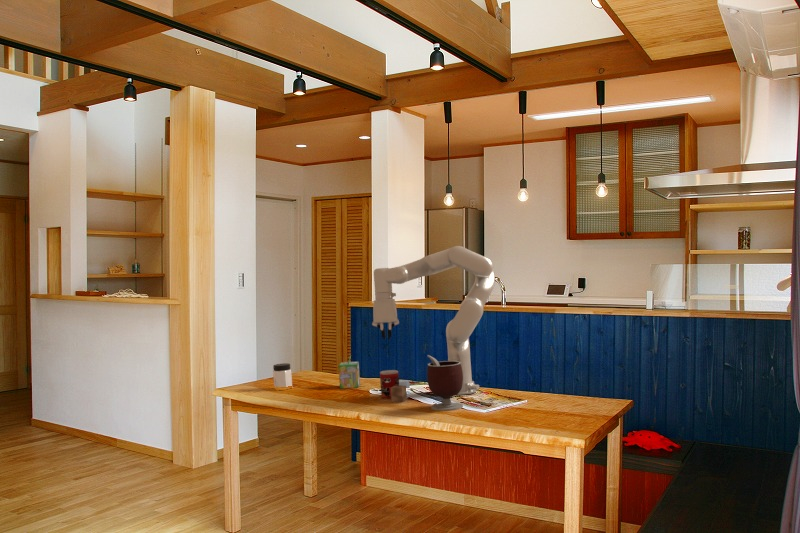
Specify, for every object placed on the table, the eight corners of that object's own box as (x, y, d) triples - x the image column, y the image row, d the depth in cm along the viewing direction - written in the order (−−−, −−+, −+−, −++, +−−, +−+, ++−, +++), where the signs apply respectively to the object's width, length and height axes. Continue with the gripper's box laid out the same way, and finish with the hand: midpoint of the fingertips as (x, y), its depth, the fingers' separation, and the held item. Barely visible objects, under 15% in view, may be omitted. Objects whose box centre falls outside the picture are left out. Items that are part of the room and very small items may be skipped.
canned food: (378, 396, 291) (377, 371, 291) (395, 394, 294) (393, 369, 294) (385, 399, 284) (384, 373, 284) (402, 396, 287) (401, 371, 287)
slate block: (409, 391, 298) (409, 380, 298) (399, 394, 295) (398, 382, 295) (401, 390, 303) (400, 379, 303) (391, 392, 299) (390, 381, 299)
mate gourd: (472, 405, 260) (468, 354, 260) (448, 412, 250) (445, 359, 250) (442, 401, 271) (439, 352, 271) (418, 408, 261) (415, 357, 261)
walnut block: (407, 399, 280) (406, 385, 280) (403, 402, 276) (402, 387, 276) (395, 399, 282) (394, 385, 282) (391, 402, 277) (390, 387, 277)
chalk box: (341, 385, 326) (339, 355, 326) (360, 384, 326) (358, 354, 326) (339, 389, 317) (337, 358, 317) (358, 388, 316) (356, 356, 316)
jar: (272, 389, 330) (270, 364, 330) (288, 386, 334) (286, 362, 334) (278, 391, 322) (276, 366, 322) (294, 389, 326) (292, 364, 326)
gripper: (402, 295, 293) (405, 337, 293) (366, 297, 293) (369, 339, 293) (401, 295, 285) (404, 338, 285) (365, 298, 286) (368, 341, 286)
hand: (386, 338), depth 289 cm, fingers closed
